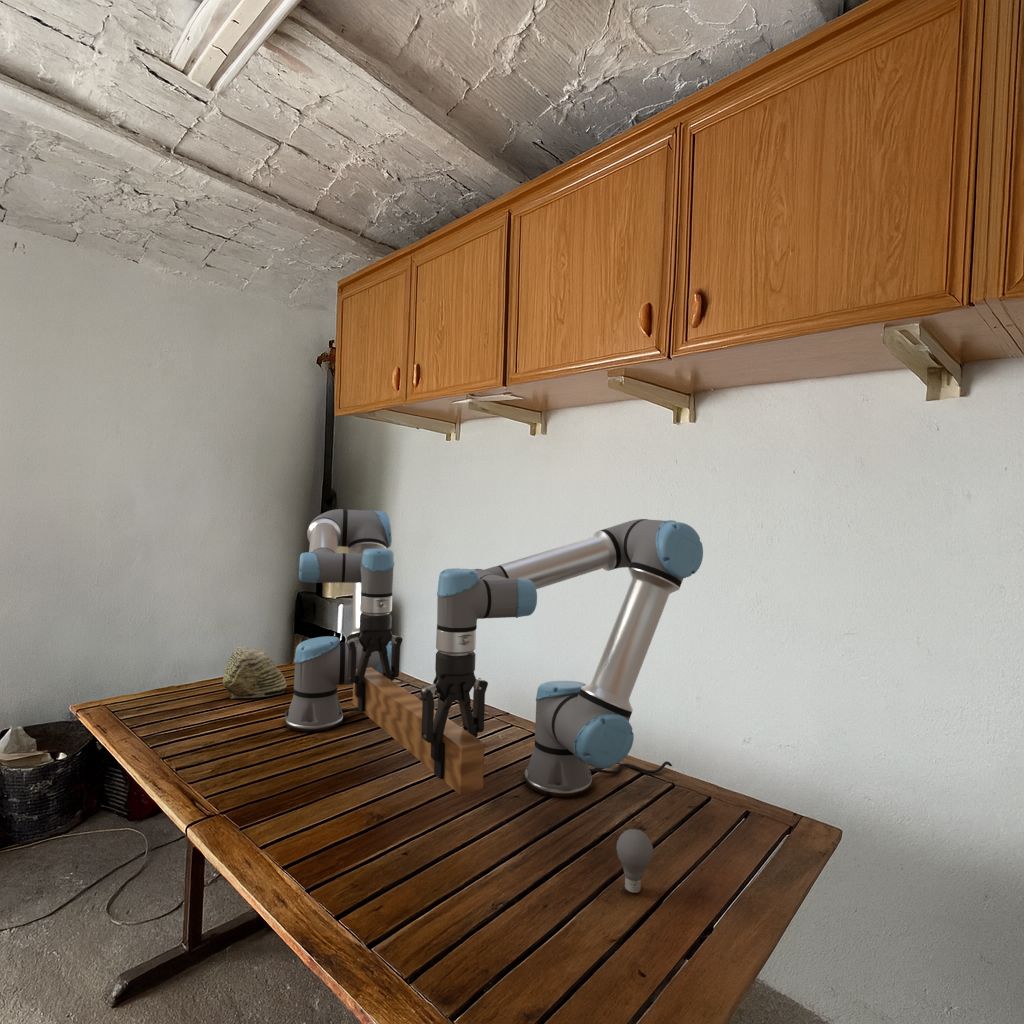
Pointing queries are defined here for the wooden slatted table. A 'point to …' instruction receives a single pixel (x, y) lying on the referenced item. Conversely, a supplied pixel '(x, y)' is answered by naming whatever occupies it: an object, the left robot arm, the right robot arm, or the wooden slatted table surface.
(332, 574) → the left robot arm
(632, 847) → the light bulb
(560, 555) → the right robot arm
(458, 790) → the post
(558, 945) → the wooden slatted table surface
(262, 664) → the fossil
